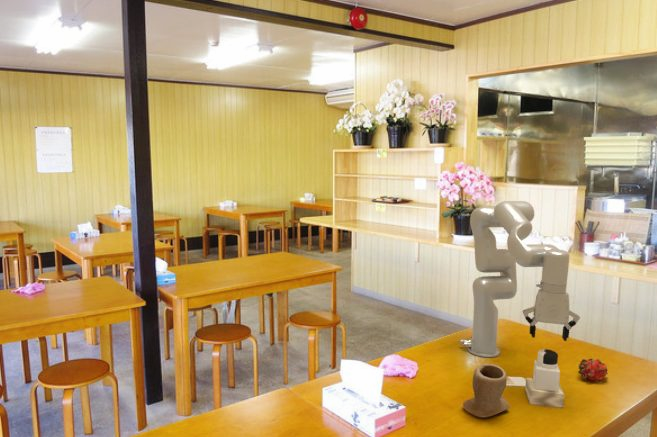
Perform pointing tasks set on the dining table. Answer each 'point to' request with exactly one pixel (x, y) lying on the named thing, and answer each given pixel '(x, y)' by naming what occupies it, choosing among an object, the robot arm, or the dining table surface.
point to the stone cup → (487, 391)
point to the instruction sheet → (516, 381)
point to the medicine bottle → (546, 371)
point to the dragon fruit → (592, 369)
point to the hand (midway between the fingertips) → (548, 337)
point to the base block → (543, 396)
